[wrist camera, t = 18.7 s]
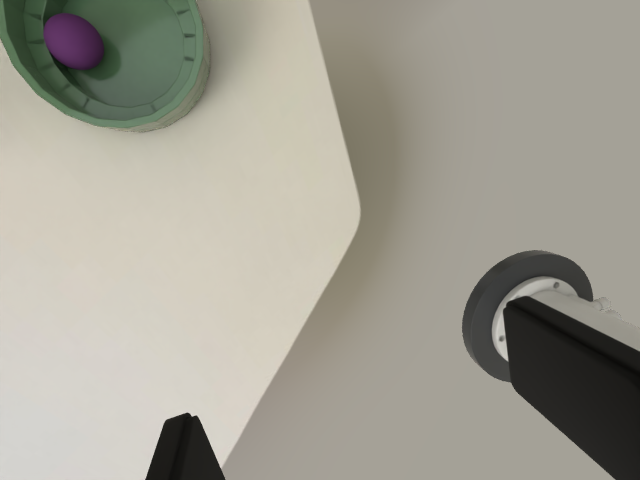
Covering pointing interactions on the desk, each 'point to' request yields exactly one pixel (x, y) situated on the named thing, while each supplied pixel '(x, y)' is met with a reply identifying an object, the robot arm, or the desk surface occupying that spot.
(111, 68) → the bowl
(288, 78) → the desk surface
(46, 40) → the ball
